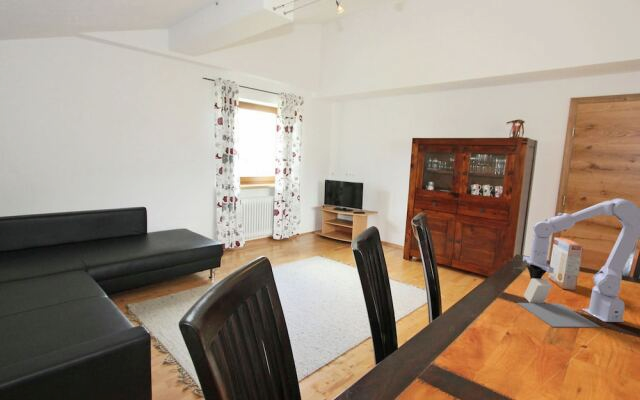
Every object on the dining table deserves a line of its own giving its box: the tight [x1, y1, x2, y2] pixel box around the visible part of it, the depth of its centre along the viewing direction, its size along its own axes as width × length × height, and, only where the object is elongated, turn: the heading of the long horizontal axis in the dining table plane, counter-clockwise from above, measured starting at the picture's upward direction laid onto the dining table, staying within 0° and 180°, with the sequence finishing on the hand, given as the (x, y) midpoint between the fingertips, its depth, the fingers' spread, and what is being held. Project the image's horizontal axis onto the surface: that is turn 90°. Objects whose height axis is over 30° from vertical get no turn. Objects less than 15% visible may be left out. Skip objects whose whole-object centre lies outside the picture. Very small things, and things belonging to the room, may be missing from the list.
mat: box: [516, 302, 602, 328], centre depth 125 cm, size 18×18×1 cm
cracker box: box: [547, 237, 584, 291], centre depth 155 cm, size 14×6×21 cm, turn 168°
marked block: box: [523, 278, 553, 303], centre depth 134 cm, size 4×6×9 cm
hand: (534, 283), depth 136 cm, fingers closed
